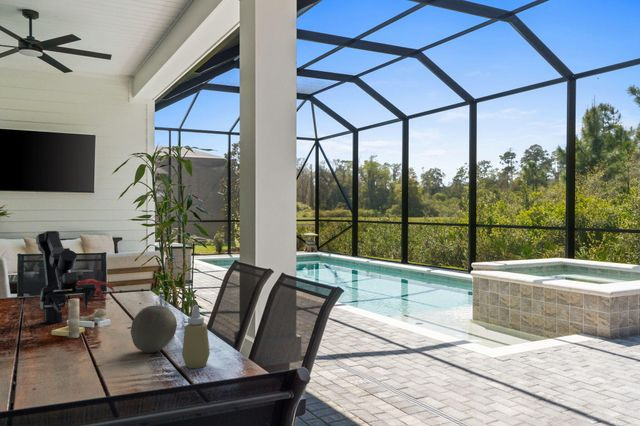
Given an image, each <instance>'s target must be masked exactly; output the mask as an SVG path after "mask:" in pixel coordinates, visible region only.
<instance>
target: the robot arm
mask: <svg viewBox="0 0 640 426" xmlns="http://www.w3.org/2000/svg"><path fill="white" fill-rule="evenodd" d="M60 238H61V237H60V232H59V231H57V230H46V231H44V232H42V233H39V234H37V235H36V237H35V244H36V245H37V250H38V251H39V252H40V253H41V254H42V258H43V267H44V277H45V285H46V286H45V287H43V288H42V289H41V291H40V295H39V297H40V298H39V299H40V302H39V305H40V306H39V307H40V309H42V310H43V321H40V324H50V325H51V324H52V325H53V324H57V323H58V324H59V323H61V322H65V319H62V318H63V317H62V316H63V312H62V308H65V307H66V299H67V296H75V295H81V296H82V303H83V308H84V309H85V310H87V308H88V305H89V304H88V303H89V300H90V299H92V297H93V298H94V297H95V295H96V294H95V291H96V285H95V284H84V285H83V286H82V288H77V287H79V286H78V283H77V281H83V279H84V272H83V270H77V271H73V269H74V267H75V265H76V260H77V256H78V254H77V253H76V252H75V251H73V250H71V249H70V248H69V247H67V248H66V247H65V248H64V246H63V244H62V240H61V239H60ZM76 286H77V287H76Z"/></svg>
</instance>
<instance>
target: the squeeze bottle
mask: <svg viewBox="0 0 640 426" xmlns="http://www.w3.org/2000/svg"><path fill="white" fill-rule="evenodd" d="M200 313H201V312H200V309H199V305H198V304H194V305H193V309H192V313H191V316H189V317H188V318H187V325H185V326H184V329H183V330H184V332H183V341H182V342H183V343H182V351H181V354H182V355H181V357H182V359H183V362H184V365H185V367H186V368H189V369H199V368H203V367H205V366H206V365H207V363H208V361H209V357H210V353H211V352H210V342H209V334H208V326H207V324H205V317H204V316H201V314H200Z"/></svg>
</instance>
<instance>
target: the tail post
mask: <svg viewBox="0 0 640 426" xmlns="http://www.w3.org/2000/svg"><path fill="white" fill-rule="evenodd" d="M79 318H80V298H77V297H76V298H70V299H68V320H69V336H68V339H77V338H80V333H79V327H80V326H79Z"/></svg>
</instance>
